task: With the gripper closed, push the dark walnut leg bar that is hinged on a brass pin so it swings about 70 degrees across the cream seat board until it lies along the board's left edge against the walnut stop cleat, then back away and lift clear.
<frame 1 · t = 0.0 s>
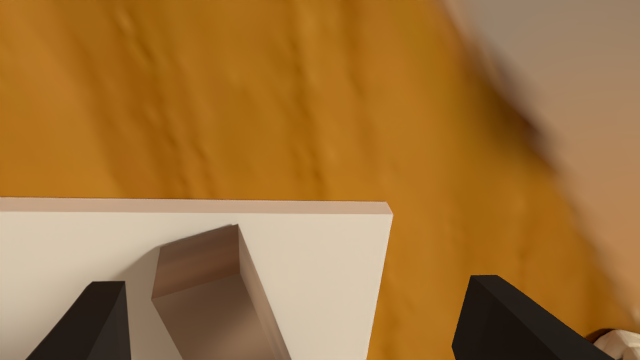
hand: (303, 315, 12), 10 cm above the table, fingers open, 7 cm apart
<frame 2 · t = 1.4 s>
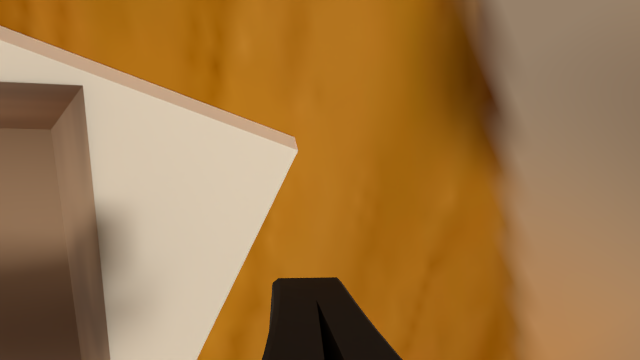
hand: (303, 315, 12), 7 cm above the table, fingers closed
leg: (33, 301, 15), point 3 cm above the table, hinge at 20.0°
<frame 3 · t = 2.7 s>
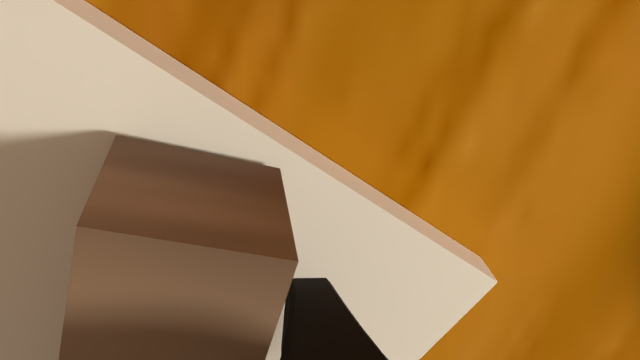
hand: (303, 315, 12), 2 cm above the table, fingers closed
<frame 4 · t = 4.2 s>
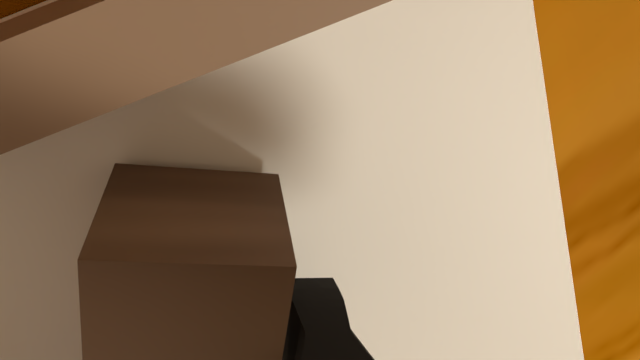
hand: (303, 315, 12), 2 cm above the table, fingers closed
seat board: (216, 350, 14), on the table
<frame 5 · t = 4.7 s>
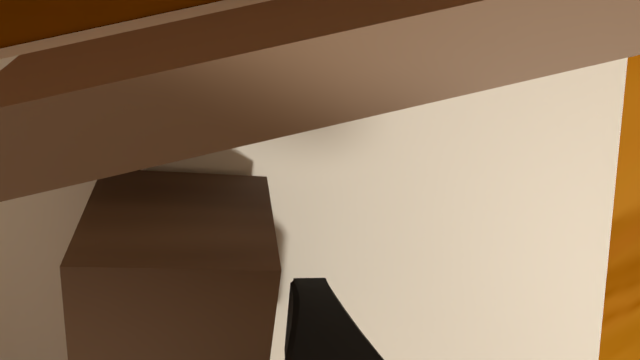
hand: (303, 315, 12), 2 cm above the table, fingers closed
seat board: (257, 359, 15), on the table
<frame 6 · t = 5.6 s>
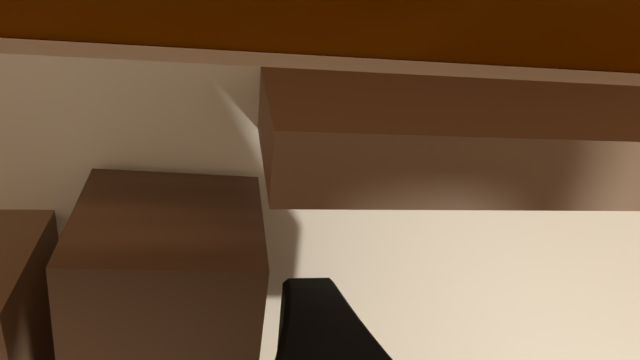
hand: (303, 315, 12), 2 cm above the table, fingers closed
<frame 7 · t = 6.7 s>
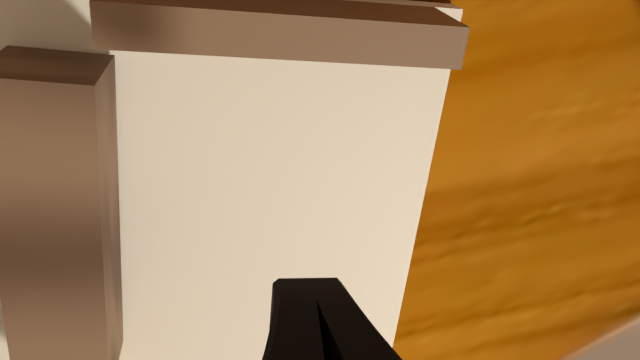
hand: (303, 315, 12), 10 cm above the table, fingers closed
leg: (63, 238, 18), point 3 cm above the table, hinge at 87.7°
seat board: (186, 225, 21), on the table
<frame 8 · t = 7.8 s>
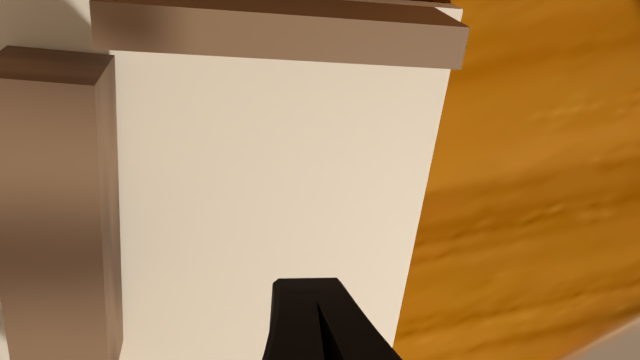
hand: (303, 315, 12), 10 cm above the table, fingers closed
leg: (63, 238, 18), point 3 cm above the table, hinge at 87.7°
seat board: (186, 225, 21), on the table
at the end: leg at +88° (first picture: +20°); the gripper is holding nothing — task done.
